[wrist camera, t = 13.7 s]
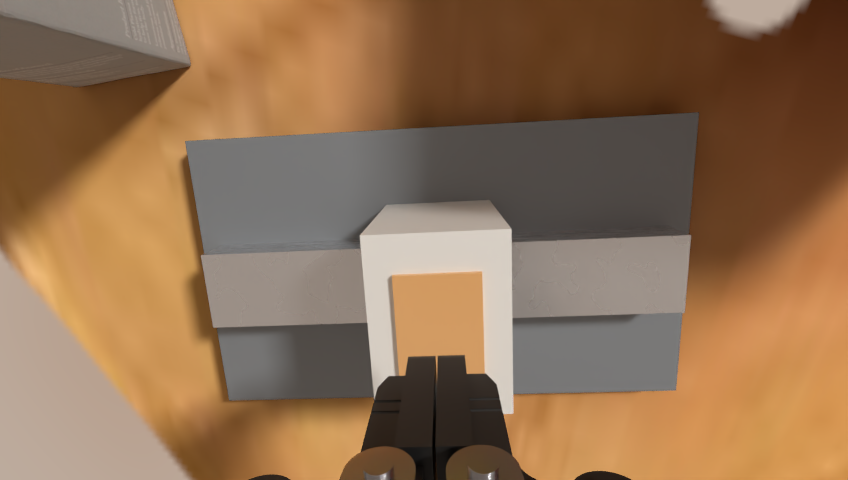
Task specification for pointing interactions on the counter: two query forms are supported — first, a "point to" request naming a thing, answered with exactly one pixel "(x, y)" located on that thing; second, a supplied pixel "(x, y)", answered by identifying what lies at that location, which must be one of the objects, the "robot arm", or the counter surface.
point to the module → (440, 289)
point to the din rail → (531, 277)
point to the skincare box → (88, 40)
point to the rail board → (450, 182)
